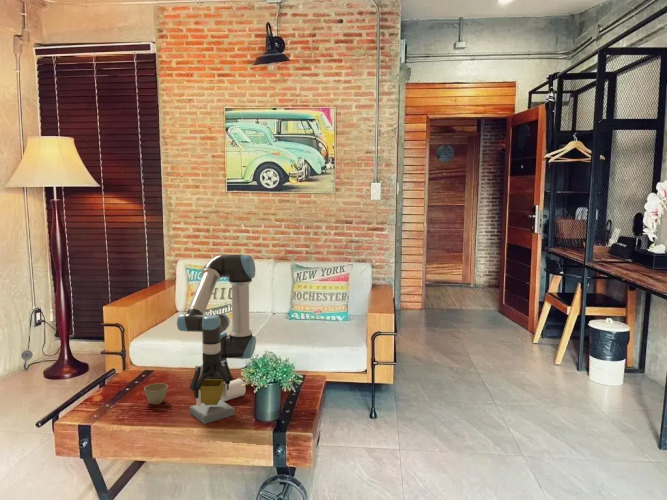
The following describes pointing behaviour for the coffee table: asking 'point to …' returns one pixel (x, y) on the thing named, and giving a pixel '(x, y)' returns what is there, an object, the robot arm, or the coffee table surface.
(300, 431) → the coffee table surface
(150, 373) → the coffee table surface
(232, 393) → the mug
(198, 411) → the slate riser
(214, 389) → the flower pot
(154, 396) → the round planter pot
